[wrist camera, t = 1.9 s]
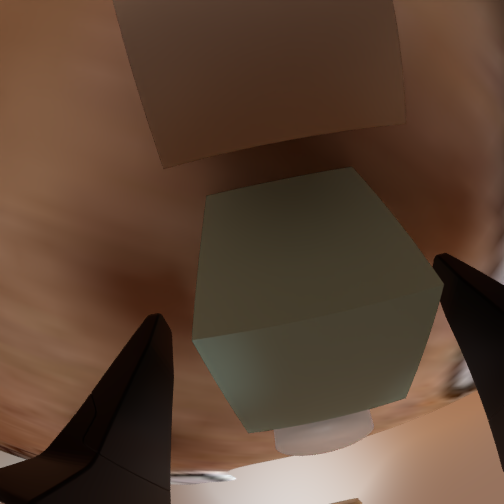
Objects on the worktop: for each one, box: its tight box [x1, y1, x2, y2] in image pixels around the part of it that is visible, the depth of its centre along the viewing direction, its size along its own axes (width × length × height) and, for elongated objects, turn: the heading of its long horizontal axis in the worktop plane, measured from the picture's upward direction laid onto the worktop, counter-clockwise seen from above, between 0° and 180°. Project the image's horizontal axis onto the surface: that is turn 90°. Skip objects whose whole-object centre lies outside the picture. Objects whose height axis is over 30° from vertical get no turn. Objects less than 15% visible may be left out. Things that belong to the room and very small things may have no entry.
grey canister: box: [274, 409, 374, 456], centre depth 14 cm, size 4×4×5 cm
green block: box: [192, 167, 444, 433], centre depth 10 cm, size 5×5×6 cm
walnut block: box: [113, 0, 406, 169], centre depth 6 cm, size 4×4×4 cm
